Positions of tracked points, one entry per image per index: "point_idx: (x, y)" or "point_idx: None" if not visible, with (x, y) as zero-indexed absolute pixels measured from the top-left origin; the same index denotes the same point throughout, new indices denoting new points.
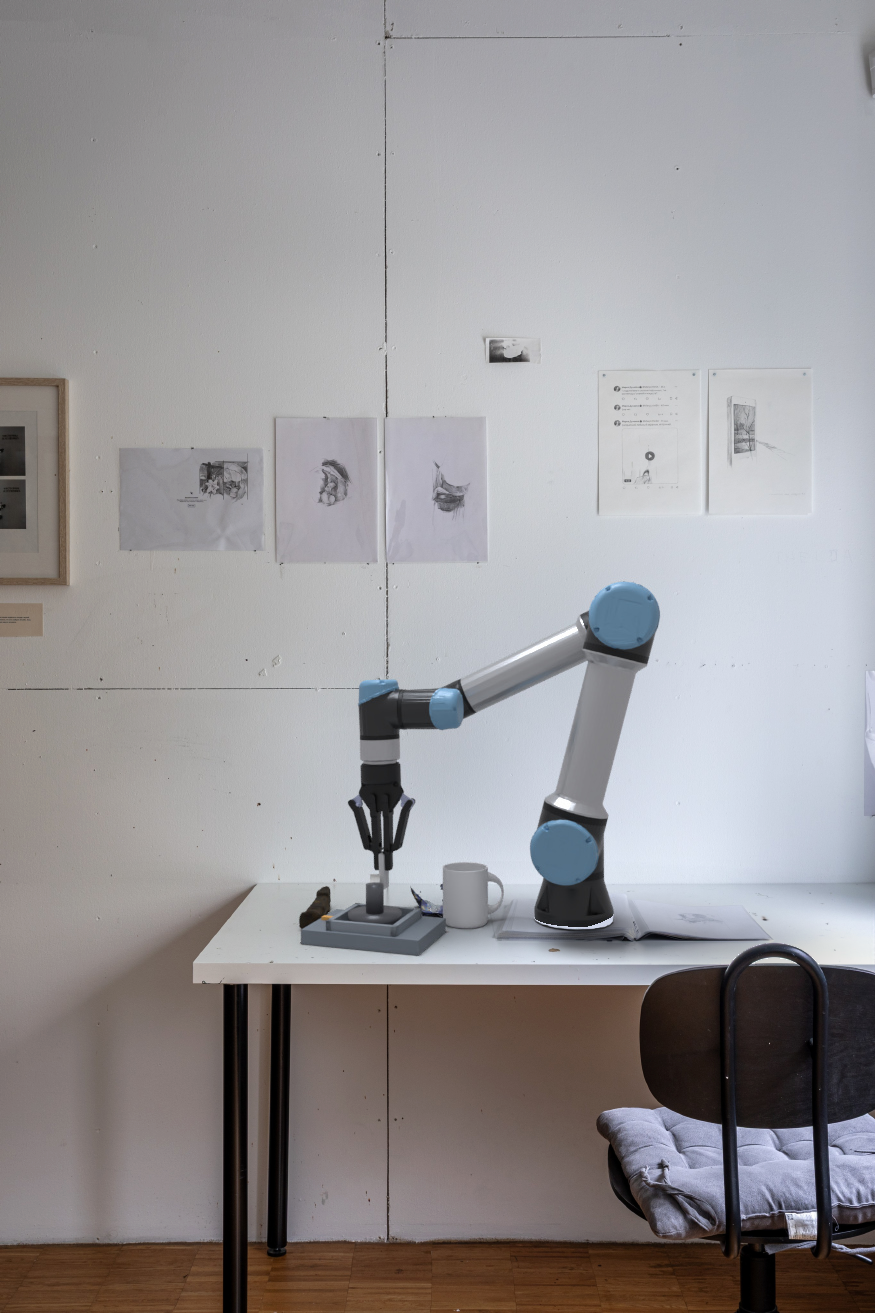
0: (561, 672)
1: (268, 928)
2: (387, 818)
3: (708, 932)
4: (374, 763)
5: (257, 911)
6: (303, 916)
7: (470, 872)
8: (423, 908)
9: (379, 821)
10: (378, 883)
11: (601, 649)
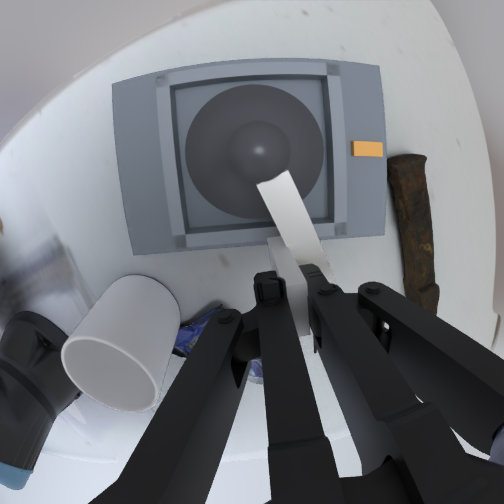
0: None
1: (453, 154)
2: (284, 439)
3: None
4: None
5: (486, 241)
6: (418, 155)
7: (67, 339)
8: None
9: (356, 422)
10: (252, 167)
11: None
